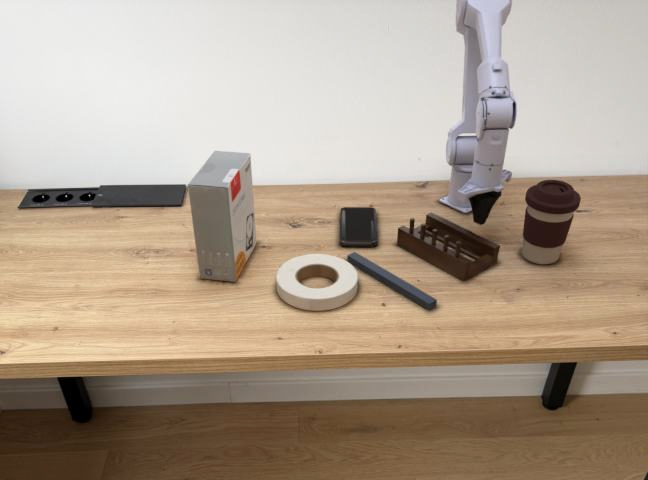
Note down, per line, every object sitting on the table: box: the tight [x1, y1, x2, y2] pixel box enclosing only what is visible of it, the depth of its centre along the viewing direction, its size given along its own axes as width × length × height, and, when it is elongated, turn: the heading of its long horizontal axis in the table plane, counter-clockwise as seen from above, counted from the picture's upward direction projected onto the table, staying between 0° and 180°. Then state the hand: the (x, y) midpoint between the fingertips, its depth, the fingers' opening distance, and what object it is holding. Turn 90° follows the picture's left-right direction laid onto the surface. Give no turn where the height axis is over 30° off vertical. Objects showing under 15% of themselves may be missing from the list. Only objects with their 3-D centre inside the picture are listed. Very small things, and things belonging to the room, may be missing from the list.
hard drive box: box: [187, 150, 258, 283], centre depth 131 cm, size 16×8×20 cm, turn 168°
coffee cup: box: [521, 179, 581, 265], centre depth 133 cm, size 10×10×15 cm
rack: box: [396, 212, 501, 282], centre depth 136 cm, size 10×18×7 cm, turn 40°
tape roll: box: [275, 253, 359, 312], centre depth 129 cm, size 16×15×3 cm
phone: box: [339, 206, 379, 248], centre depth 146 cm, size 8×1×15 cm
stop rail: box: [346, 251, 438, 311], centre depth 130 cm, size 2×22×2 cm, turn 40°
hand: (479, 222), depth 141 cm, fingers closed
